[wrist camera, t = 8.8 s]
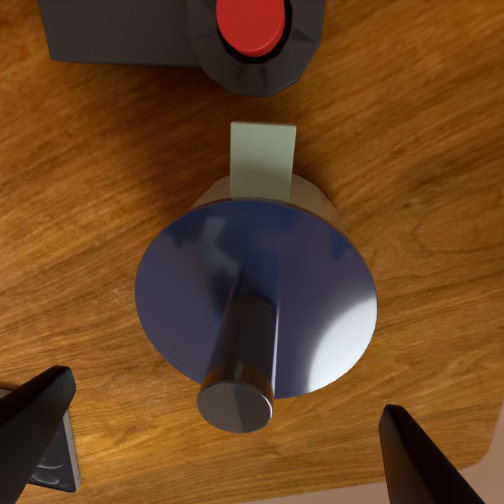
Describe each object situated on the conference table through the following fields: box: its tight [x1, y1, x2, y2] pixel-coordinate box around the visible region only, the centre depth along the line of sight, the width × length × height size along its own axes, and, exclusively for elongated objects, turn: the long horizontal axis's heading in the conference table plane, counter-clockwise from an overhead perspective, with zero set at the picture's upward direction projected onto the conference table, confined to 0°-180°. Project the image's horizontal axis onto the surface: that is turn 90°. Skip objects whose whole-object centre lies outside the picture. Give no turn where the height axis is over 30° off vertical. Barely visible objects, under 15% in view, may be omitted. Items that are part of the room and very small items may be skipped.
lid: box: [135, 197, 378, 433], centre depth 12 cm, size 11×11×6 cm
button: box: [216, 0, 285, 57], centre depth 11 cm, size 2×2×2 cm
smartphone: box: [0, 389, 80, 493], centre depth 32 cm, size 8×1×15 cm
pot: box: [184, 120, 351, 241], centre depth 17 cm, size 10×15×6 cm, turn 177°
